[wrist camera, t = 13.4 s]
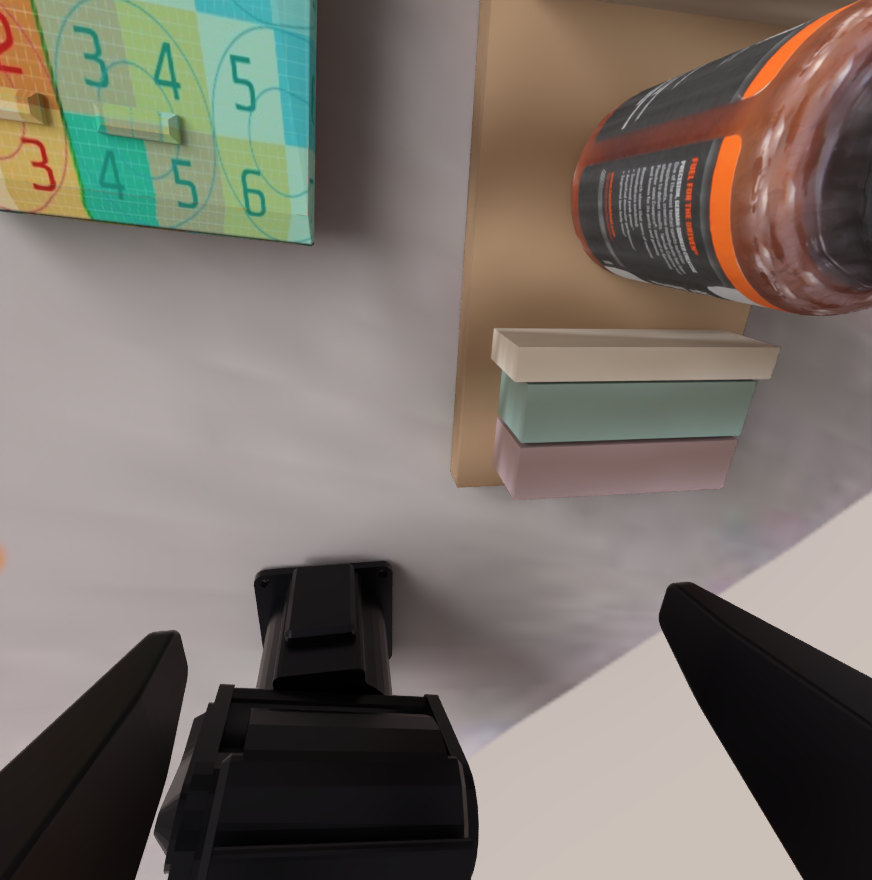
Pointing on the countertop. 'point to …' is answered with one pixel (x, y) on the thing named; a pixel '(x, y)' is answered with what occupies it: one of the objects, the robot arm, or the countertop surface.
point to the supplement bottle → (744, 174)
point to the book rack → (590, 264)
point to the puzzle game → (161, 114)
